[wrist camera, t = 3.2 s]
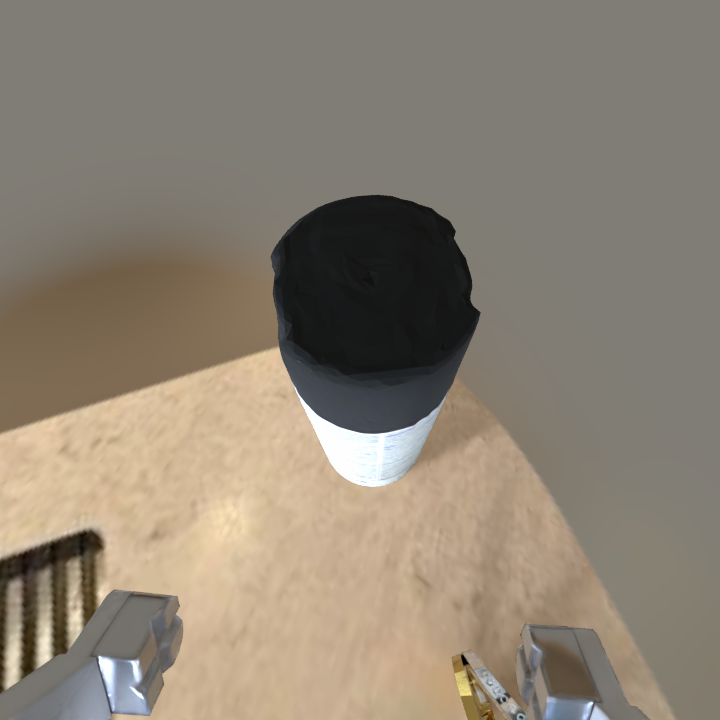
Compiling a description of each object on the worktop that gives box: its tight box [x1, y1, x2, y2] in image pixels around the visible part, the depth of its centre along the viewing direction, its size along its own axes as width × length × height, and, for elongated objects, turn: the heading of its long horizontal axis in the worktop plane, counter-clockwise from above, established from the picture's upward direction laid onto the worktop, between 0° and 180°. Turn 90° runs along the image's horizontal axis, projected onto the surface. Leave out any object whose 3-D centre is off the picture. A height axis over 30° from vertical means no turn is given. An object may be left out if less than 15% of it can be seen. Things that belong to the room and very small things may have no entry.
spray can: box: [271, 195, 480, 486], centre depth 22 cm, size 7×7×20 cm
